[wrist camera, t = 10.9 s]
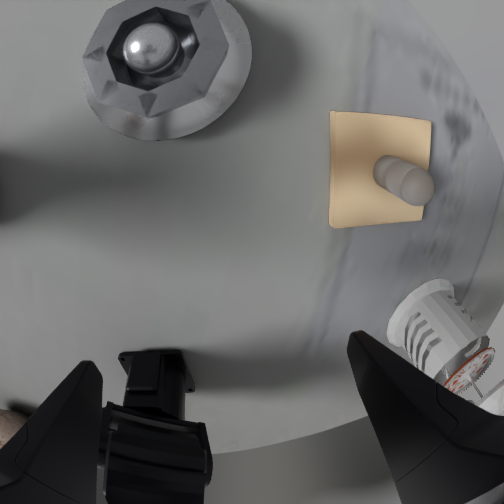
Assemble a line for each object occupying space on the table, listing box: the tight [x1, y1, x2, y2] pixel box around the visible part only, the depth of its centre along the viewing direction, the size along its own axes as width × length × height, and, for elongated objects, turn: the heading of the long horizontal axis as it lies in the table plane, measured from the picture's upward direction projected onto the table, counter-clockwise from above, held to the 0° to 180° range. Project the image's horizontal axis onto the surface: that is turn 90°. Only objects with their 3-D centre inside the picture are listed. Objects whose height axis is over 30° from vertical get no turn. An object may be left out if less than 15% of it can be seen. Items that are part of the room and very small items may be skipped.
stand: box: [329, 111, 435, 229], centre depth 16 cm, size 8×8×6 cm
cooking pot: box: [0, 409, 30, 448], centre depth 26 cm, size 25×19×12 cm
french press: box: [386, 278, 504, 416], centre depth 17 cm, size 10×12×25 cm
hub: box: [82, 0, 252, 141], centre depth 11 cm, size 10×10×6 cm
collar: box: [82, 0, 229, 118], centre depth 11 cm, size 7×7×3 cm
